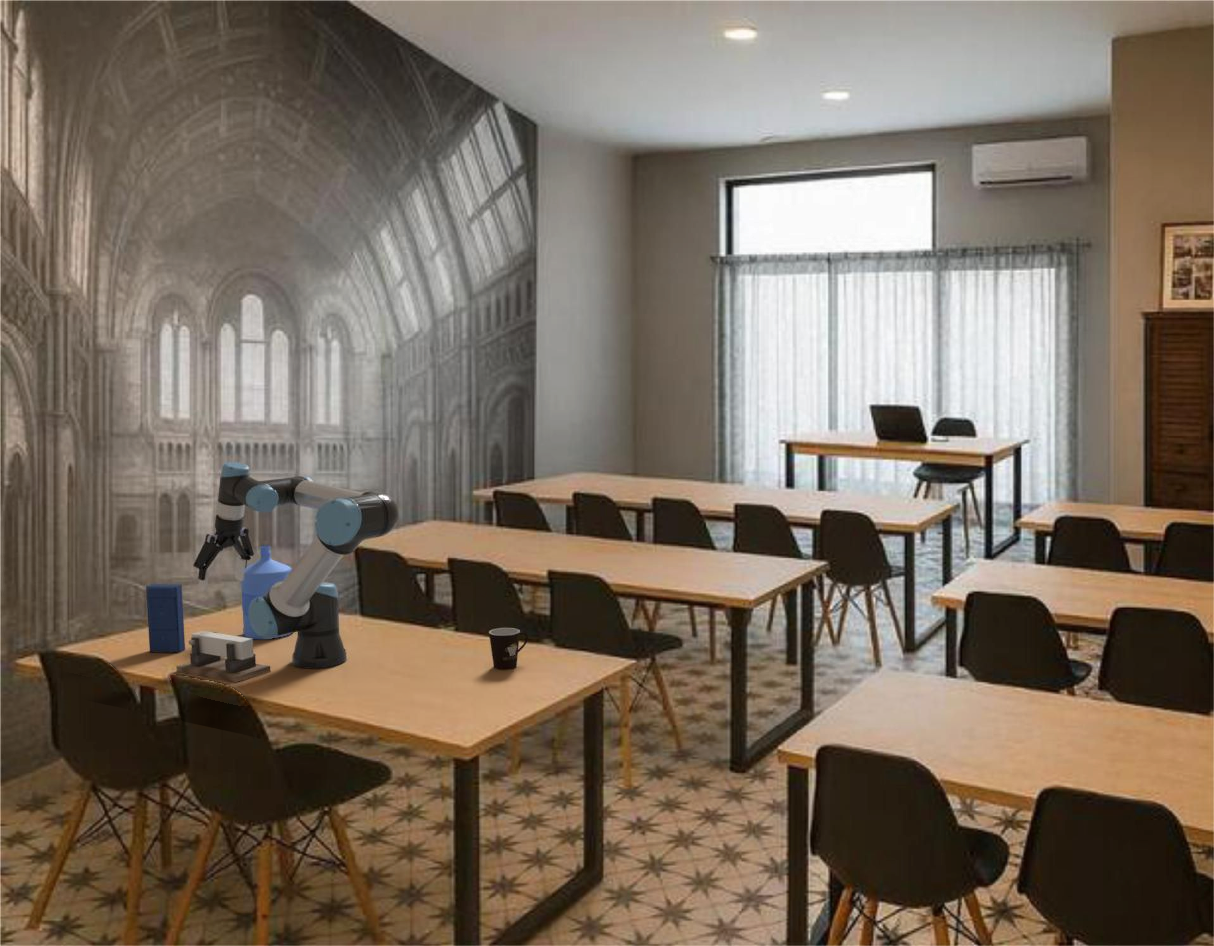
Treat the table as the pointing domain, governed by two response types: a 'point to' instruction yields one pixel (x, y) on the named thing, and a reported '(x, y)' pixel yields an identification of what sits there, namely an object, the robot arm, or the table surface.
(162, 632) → the electronic device
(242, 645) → the white slab
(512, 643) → the coffee mug
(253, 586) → the water jug
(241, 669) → the cable cradle
